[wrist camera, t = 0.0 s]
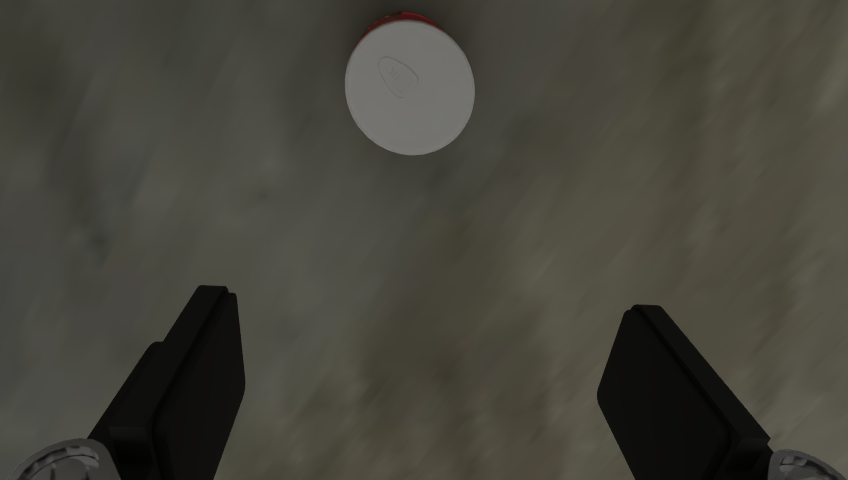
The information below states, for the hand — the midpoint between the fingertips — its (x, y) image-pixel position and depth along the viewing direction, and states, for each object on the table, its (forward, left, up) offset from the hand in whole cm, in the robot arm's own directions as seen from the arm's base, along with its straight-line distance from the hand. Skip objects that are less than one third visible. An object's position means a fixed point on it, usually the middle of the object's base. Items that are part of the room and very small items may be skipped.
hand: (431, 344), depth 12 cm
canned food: (-2, 0, -32) cm, 32 cm away
